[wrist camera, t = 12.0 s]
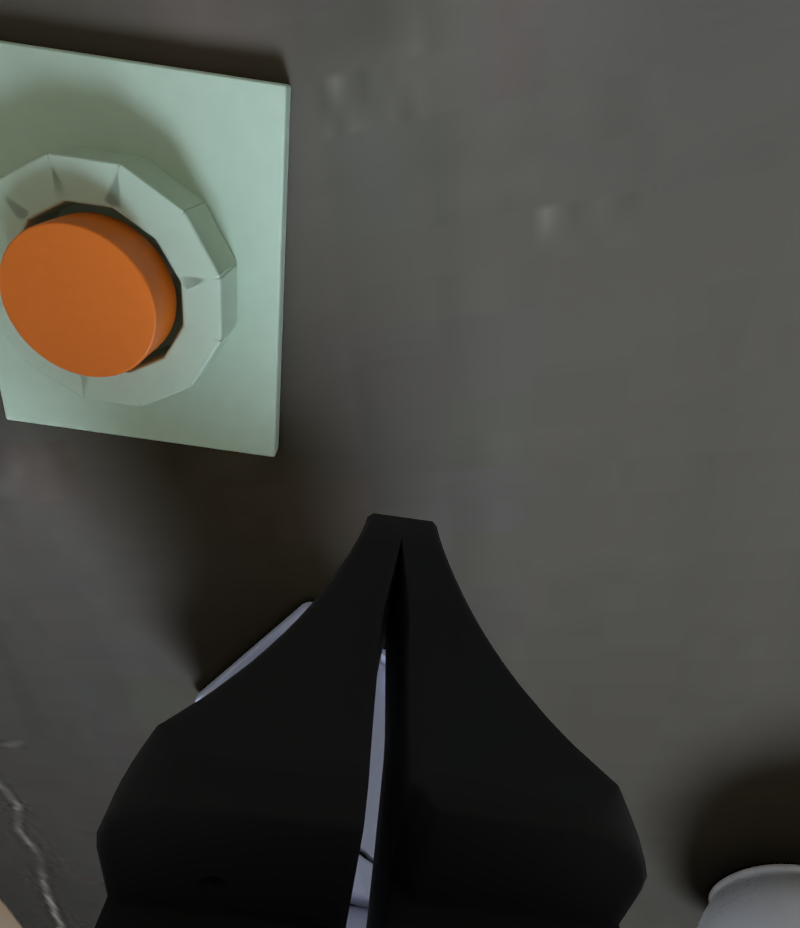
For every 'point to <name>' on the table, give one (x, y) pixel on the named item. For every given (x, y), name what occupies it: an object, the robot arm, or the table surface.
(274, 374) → the button block
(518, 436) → the table surface
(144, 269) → the button
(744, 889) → the lidded bowl
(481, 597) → the table surface
